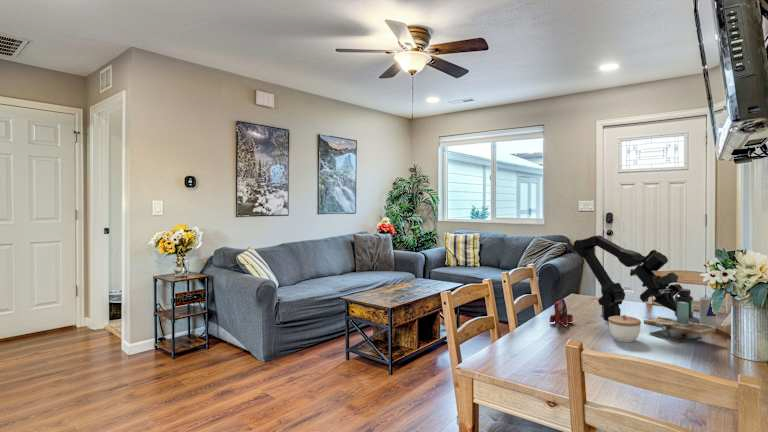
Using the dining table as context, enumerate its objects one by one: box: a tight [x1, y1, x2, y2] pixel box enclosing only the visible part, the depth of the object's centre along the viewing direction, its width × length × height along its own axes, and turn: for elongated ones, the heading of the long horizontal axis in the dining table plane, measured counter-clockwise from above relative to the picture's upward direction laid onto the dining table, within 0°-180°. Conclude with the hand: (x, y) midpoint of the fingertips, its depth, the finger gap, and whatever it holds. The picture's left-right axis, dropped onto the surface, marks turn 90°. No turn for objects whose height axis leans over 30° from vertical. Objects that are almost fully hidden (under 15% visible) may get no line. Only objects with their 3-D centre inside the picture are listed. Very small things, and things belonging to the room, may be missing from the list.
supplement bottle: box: [674, 288, 694, 319], centre depth 189 cm, size 7×7×12 cm
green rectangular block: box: [673, 302, 693, 327], centre depth 161 cm, size 4×6×9 cm, turn 114°
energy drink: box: [698, 296, 717, 328], centre depth 172 cm, size 5×5×12 cm
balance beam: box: [643, 316, 717, 337], centre depth 163 cm, size 21×9×2 cm, turn 24°
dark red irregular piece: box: [549, 298, 574, 325], centre depth 183 cm, size 7×12×10 cm, turn 139°
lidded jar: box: [607, 314, 642, 343], centre depth 161 cm, size 11×11×9 cm
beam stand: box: [649, 323, 702, 344], centre depth 164 cm, size 11×14×5 cm
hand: (677, 311), depth 163 cm, fingers closed
